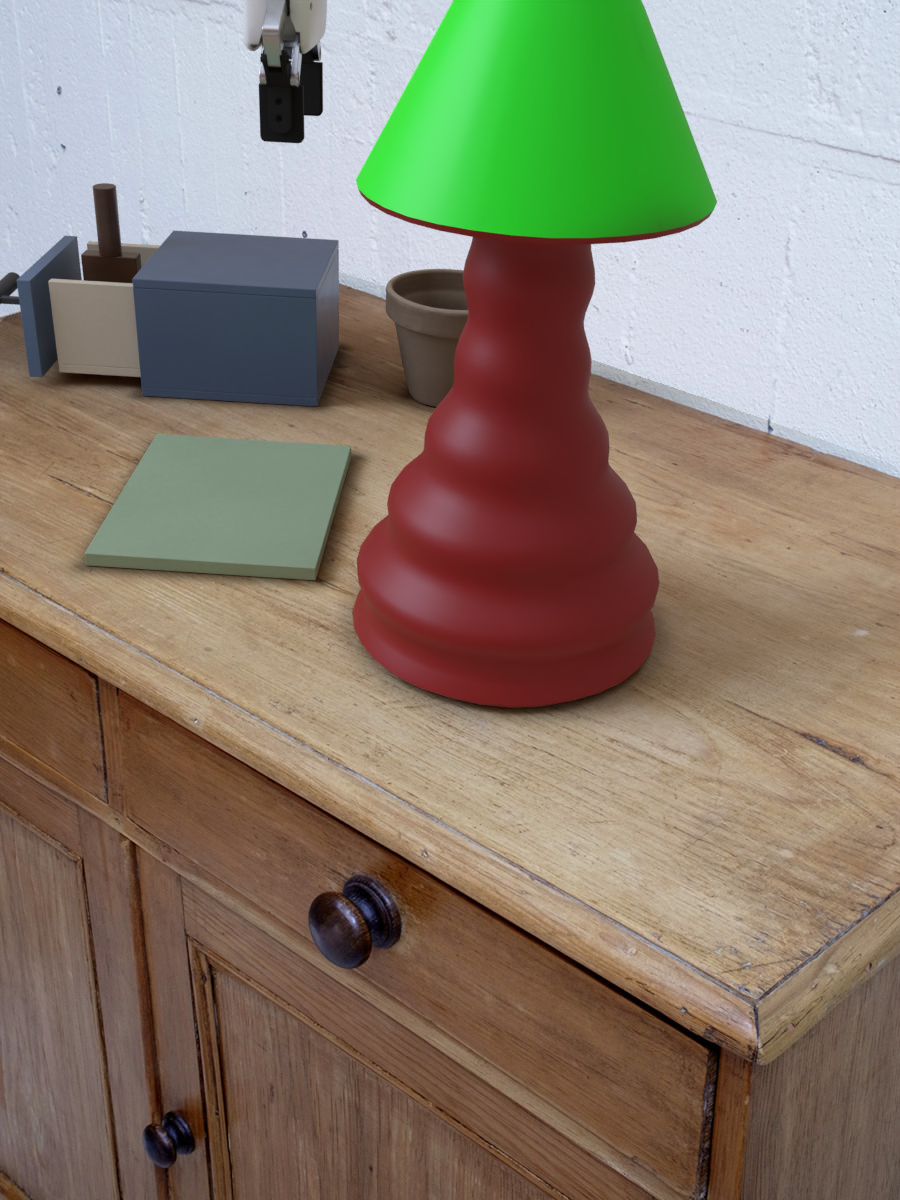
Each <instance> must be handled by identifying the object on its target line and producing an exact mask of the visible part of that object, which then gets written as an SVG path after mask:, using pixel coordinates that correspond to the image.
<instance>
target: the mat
mask: <svg viewBox="0 0 900 1200" xmlns="http://www.w3.org/2000/svg"><path fill="white" fill-rule="evenodd" d="M351 459H352V446H351V445H342V444H327V443H326V444H325V443H310V442H309V443H308V442H297V441H296V442H293V441H281V440H280V441H279V440H278V441H277V440H264V439H263V440H261V439H246V438H245V439H244V438H231V437H216V436H215V437H214V436H200V435H199V436H198V435H185V434H184V435H183V434H181V435H180V434H169V433H167V434H166V433H156V434H155V436H154V437H153V439H152V440H151V443H150V444H149V445H148V447H147V449H146V451H145V452H144V453H143V456H142V457H141V459H140V461H139V463H138V464H137V466H136V467H135V469H134V470H133V472H132V474H131V476H130V477H129V479H128V480H127V482H126V483H125V486H124V487H123V489H122V491H121V492H120V493H119V495H118V497H117V499H116V500H115V502H114V504H113V505H112V507H111V508H110V510H109V512H108V514H107V515H106V517H105V519H104V521H103V522H102V524H101V525H100V526H99V528H98V530H97V532H96V534H95V535H94V537H93V539H92V540H91V542H90V543H89V544H88V546H87V548H86V550H85V552H84V561H85V566H90V567H103V568H104V567H105V568H117V569H119V568H120V569H137V570H150V571H164V572H165V571H166V572H179V573H180V572H181V573H182V572H183V573H197V574H212V575H226V576H227V575H228V576H241V577H242V576H243V577H256V578H257V577H258V578H269V579H270V578H271V579H286V580H287V579H288V580H300V581H301V580H302V581H303V580H304V581H316V580H317V578H318V574H319V570H320V568H321V563H322V560H323V556H324V553H325V551H326V547H327V542H328V539H329V535H330V532H331V530H332V525H333V523H334V519H335V518H334V517H335V515H336V512H337V508H338V504H339V501H340V499H341V498H340V497H341V494H342V491H343V486H344V483H345V480H346V477H347V473H348V471H349V467H350V466H349V465H350V463H351Z"/></svg>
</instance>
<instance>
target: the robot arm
mask: <svg viewBox="0 0 900 1200" xmlns="http://www.w3.org/2000/svg"><path fill="white" fill-rule="evenodd" d="M327 15H328V0H243V44H244V45H245V47H246V49H248V51H251V52H255V51H257V50H258V49H259V48H261V52H260V57H259V61H260V62H259V63H260V64H259V70H258V71H259V73H258V79H259V80H258V81H259V83H258V104H259V105H258V106H259V107H258V108H259V136H260V139H261V140H262V141H263V142H267V143H283V144H284V143H285V144H301V143H303V141H304V140H305V116H306V117H310V116H311V117H320V116H321V115H322V114H323V113H324V67H323V66H324V64H323V63H324V62H323V61H321V60H322V45H321V44H322V43H321V40H322V39H323V37H324V36H325V33H326V29H327V17H328V16H327Z"/></svg>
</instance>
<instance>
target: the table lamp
mask: <svg viewBox="0 0 900 1200" xmlns="http://www.w3.org/2000/svg"><path fill="white" fill-rule="evenodd" d="M691 130H692V129H691V128H690V125H689V122H688V119H687V117H686V115H685V111H684V109H683V106H682V104H681V101H680V98H679V96H678V93H677V90H676V87H675V85H674V82H673V79H672V77H671V74H670V71H669V69H668V66H667V64H666V60H665V58H664V55H663V53H662V50H661V47H660V45H659V42H658V39H657V36H656V33H655V31H654V28H653V26H652V23H651V21H650V18H649V15H648V13H647V10H646V7H645V5H644V3H643V1H642V0H452V2H451V3H450V5H449V7H448V9H447V10H446V13H445V15H444V16H443V18H442V20H441V22H440V24H439V26H438V27H437V29H436V31H435V33H434V35H433V36H432V38H431V40H430V42H429V44H428V46H427V48H426V50H425V51H424V53H423V55H422V56H421V59H420V61H419V62H418V64H417V66H416V68H415V70H414V72H413V74H412V75H411V77H410V79H409V80H408V83H407V84H406V86H405V88H404V90H403V92H402V94H401V95H400V97H399V99H398V101H397V103H396V104H395V106H394V109H393V111H392V112H391V114H390V115H389V117H388V120H387V121H386V123H385V124H384V127H383V128H382V130H381V132H380V134H379V136H378V138H377V140H376V141H375V143H374V145H373V147H372V149H371V151H370V153H369V155H368V156H367V158H366V160H365V162H364V164H363V166H362V168H361V169H360V171H359V173H358V175H357V176H356V178H355V182H356V186H357V189H358V192H359V194H360V196H361V197H362V198H363V199H364V200H365V201H366V202H367V203H368V205H370V206H372V207H374V208H375V209H377V210H379V211H380V212H382V213H384V214H386V215H388V216H391V217H394V218H397V219H399V220H400V221H401V220H402V221H404V222H406V223H409V224H413V225H417V226H420V227H424V228H428V229H432V230H435V231H440V232H444V233H450V234H455V235H461V236H466V237H471V238H472V239H471V243H470V247H469V249H468V253H467V256H466V258H465V261H464V267H463V270H464V271H463V284H464V289H465V294H466V298H467V303H468V319H467V322H466V325H465V327H464V329H463V332H462V334H461V336H460V338H459V341H458V344H457V347H456V351H455V358H454V383H453V387H452V388H451V390H450V391H449V393H448V394H447V395H446V396H445V397H444V399H443V400H442V401H441V402H440V403H439V405H438V406H437V407H435V409H433V411H432V413H431V414H430V416H429V418H428V419H427V423H426V428H425V431H424V440H423V441H424V443H423V449H422V450H423V451H421V452H420V454H418V456H416V457H415V458H413V459H412V460H411V461H410V462H408V463H407V464H406V465H405V466H404V467H403V468H402V470H400V472H399V473H398V475H397V476H396V478H395V479H394V480H393V481H392V483H391V485H390V489H389V493H388V496H387V503H386V507H387V515H386V516H385V517H384V518H382V519H381V520H380V521H378V523H376V524H375V525H374V526H373V527H372V528H371V530H370V532H369V533H368V534H367V536H366V537H365V539H364V540H363V542H362V543H361V544H360V547H359V549H358V553H357V557H356V572H357V581H358V585H359V587H360V590H359V591H358V593H357V595H356V598H355V601H354V604H353V608H352V611H351V612H352V613H351V615H352V623H353V629H354V631H355V633H356V635H357V637H358V639H359V641H360V643H361V644H362V646H363V647H364V648H365V650H366V651H367V652H368V653H369V654H370V656H371V657H372V658H373V659H374V661H376V662H377V663H378V664H379V665H381V666H382V667H383V668H384V669H386V670H387V671H388V672H390V673H391V674H392V675H394V676H395V677H396V678H397V679H398V680H402V681H403V682H405V683H408V684H410V685H412V686H414V687H416V688H419V689H421V690H423V691H426V692H430V693H433V694H436V695H438V696H442V697H445V698H448V699H453V700H458V701H460V702H461V701H462V702H466V703H470V704H475V705H480V706H487V707H489V706H491V707H499V708H510V709H519V708H536V707H538V708H539V707H546V706H547V707H548V706H552V705H559V704H563V703H569V702H573V701H577V700H580V699H584V698H587V697H591V696H595V695H597V694H598V695H599V694H600V693H603V692H605V691H607V690H609V689H611V688H613V687H616V686H618V685H620V684H622V682H624V681H626V680H627V679H628V678H630V676H632V675H633V674H634V673H635V672H636V671H638V669H640V668H641V667H642V666H643V665H644V663H645V661H646V659H647V658H648V656H649V655H650V654H651V653H652V649H653V646H654V642H655V639H656V624H655V623H656V622H655V617H654V615H653V612H652V609H653V608H654V606H655V602H656V599H657V596H658V591H659V588H660V577H659V568H658V566H657V563H656V561H655V560H654V558H653V555H652V554H651V552H650V550H649V548H648V546H647V545H646V543H645V542H644V541H643V540H642V539H641V538H640V537H639V535H638V534H637V533H636V532H635V531H636V528H637V524H638V511H637V502H636V500H635V498H634V497H633V494H632V492H631V490H630V488H629V486H628V485H627V483H626V482H625V480H623V479H622V477H621V476H620V475H619V474H618V473H617V472H616V471H615V470H614V469H613V468H612V467H611V465H610V462H609V457H610V437H609V435H610V434H609V431H608V428H607V426H606V423H605V421H604V420H603V417H602V415H601V414H600V413H599V411H598V409H597V408H596V406H595V404H594V403H593V402H592V399H591V398H590V392H589V388H590V381H591V380H590V379H591V375H592V374H591V373H592V354H591V348H590V345H589V342H588V338H587V334H586V330H585V319H586V313H587V311H588V308H589V306H590V303H591V301H592V298H593V295H594V292H595V287H596V267H595V264H594V263H595V262H594V258H593V252H592V245H603V244H617V243H618V244H620V243H630V242H638V241H639V242H640V241H646V240H653V239H658V238H663V237H667V236H671V235H675V234H680V233H683V232H685V231H688V230H690V229H692V228H695V227H697V226H699V225H701V224H702V223H703V222H705V221H706V220H707V219H709V218H710V217H711V215H712V214H713V212H714V211H715V208H716V206H717V203H718V200H717V198H716V195H715V192H714V189H713V187H712V184H711V181H710V178H709V176H708V173H707V171H706V167H705V165H704V163H703V160H702V157H701V154H700V152H699V149H698V147H697V143H696V141H695V138H694V136H693V134H692V133H693V132H692V131H691Z"/></svg>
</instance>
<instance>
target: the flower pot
mask: <svg viewBox="0 0 900 1200" xmlns="http://www.w3.org/2000/svg"><path fill="white" fill-rule="evenodd" d="M463 271H464V269H454V268H453V269H452V268H427V269H426V268H425V269H416V270H411V271H406V272H404V273H400V274H398V275H395V276H393V277H391V279H389V280H388V282H387V283H386V286H385V313H386V315H387V316H388V318H389V319H390V320H391V321H392V322H393V323H394V326H395V327H394V328H395V331H396V337H397V342H398V347H399V348H398V349H399V354H400V359H401V363H402V369H403V372H404V377H405V381H406V386H407V389H408V393H409V395H410V396H411V397H412V398H413V399H414V400H415V401H417V402H419V403H421V404H423V405H426V406H430V407H432V408H433V407H434V408H436V407H437V406H438V405H439V403H440V402H441V401H442V400H443V399H444V397H445V396H446V395H447V394H448V393H449V391H450V390H451V388H452V387H453V383H454V358H455V351H456V347H457V344H458V341H459V338H460V336H461V334H462V332H463V329H464V327H465V325H466V322H467V319H468V303H467V298H466V294H465V289H464V284H463Z"/></svg>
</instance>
